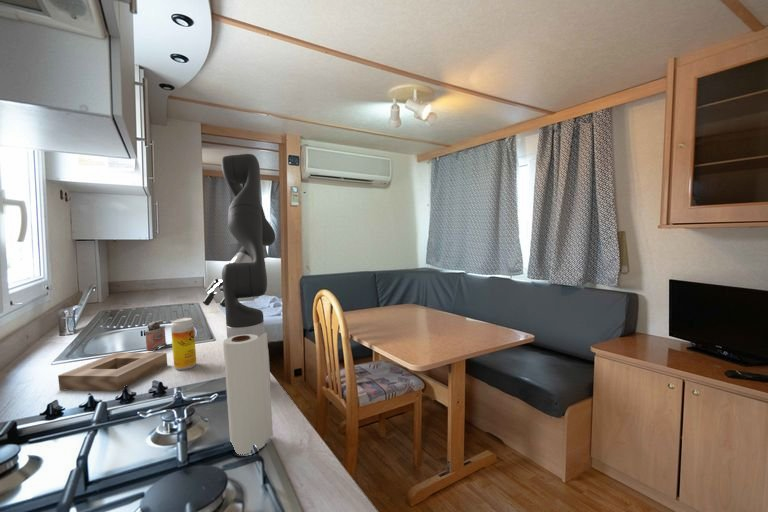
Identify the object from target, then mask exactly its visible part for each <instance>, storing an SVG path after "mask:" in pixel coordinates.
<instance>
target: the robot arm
mask: <svg viewBox="0 0 768 512" xmlns="http://www.w3.org/2000/svg"><path fill="white" fill-rule="evenodd" d="M221 170H222V171H221V172H222V174H223V177H224V179H225V181H226V184H227V186H228V188H229V189H230V190H231V192H232V194H233V195H232V196H234V198H233V199H232V201H231V203H230V205H229V207H228V212H227V213H228V215H227V216H228V217H227V220H228V221H227V224H228V229H229V232H230V233H231V235H232V237H234V238H235V240H236V241H237V242H238V243H239V244H240V245H241V247H240V248H239V250H238V251H237V252H236V254H235V255H234V256H233V257H232V258H231V260H230V261H229V263H227V264H224V266H223V268H222V271H221V278H220V279H218V278H217V277H215V278H214V279H213V280H212V282H211V283H210V284H209V286H208V287H207V288H206V289H205V292H206V293H207V295H206V297H204V299H203V301H202V303H203V304H204V305H205V306H210V304H212V303H211V302H212V301H213V300H214V299H215V297H216V296H218V295H220V294H222V293H223V298H222V299H221V300H220V302H219V305H220V306H221V307H222V308H225V323H226V325H225V326H226V339H227V338H230V337H233V336H237V335H244V334H252V335H257V336H258V338H259V337H260V336H261V335H262V334H264V333H265V323H264V322H265V321H264V320H265V319H264V318H265V317H264V312H263V311H262V310H261V309H259V308H254V307H250V306H248V305H245V304H243V303H241V302H240V301H239V299H245V298H256V297H262V296H264V295H265V294H266V292H267V288H268V275H267V269H266V261H265V260H266V259H265V253H264V247H269V246H272V245H273V244H274V242H275V240H276V233H275V230H274V228H273V226H272V225H271V224H270V222H269V221H268V219H267V218H266V214H265V211H264V207H263V206H262V204H261V197H260V195H261V194H260V191H261V190H260V189H261V188H260V183H261V170H260V163H259V160H258V158H257V156H255V155H254V154H252V153H241V154H230V155H225V156H223V157H222V159H221ZM243 184H245V185H244V186H242V185H243ZM269 353H270V352H269V349H268V361H269V362H270V354H269ZM269 377H270V378H271V371H270V366H269Z"/></svg>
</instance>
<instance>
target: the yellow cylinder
mask: <svg viewBox="0 0 768 512" xmlns="http://www.w3.org/2000/svg"><path fill="white" fill-rule="evenodd" d="M194 325H195V324H194V320H193V318H192V317H182V318H181V317H180V318H176V319H173V320H171V324H170V328H171V329H170V331H171V340H172V342H171V343H172V354H173V366H174V368H175V369H176V370H179V371H181V370H182V371H183V370H184V371H185V370H188V369H192V368H193V367H195V365H196V363H197V354H196V353H197V352H196V351H197V350H196V340H195V339H196V338H195V326H194Z"/></svg>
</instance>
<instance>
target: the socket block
mask: <svg viewBox="0 0 768 512" xmlns="http://www.w3.org/2000/svg"><path fill="white" fill-rule="evenodd" d="M167 366H168V356H167V352H114V353H111V354H108V355H106V356H104V357H101V358H99V359H96V360H94V361H91V362H89V363H87V364H84V365H81V366H78V367H76V368H74V369H71V370H68V371H67V372H63V373H61V374H58V375H57V377H58V379H57V381H58V388H59V389H66V390H65V391H69V390H70V391H106V392H107V391H109V392H110V391H112V392H118V391H119V392H120V391H121V390H123V389H125V388H124V386H126V385H127V387H129V386H131V385H133V384H134V383H137V382H138V381H140V380H142V379H145V378H146V377H148V376H150V375H152V374H154V373H155V372H157V371H159V370H161V369H164V368H165V367H167Z"/></svg>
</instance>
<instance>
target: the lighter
mask: <svg viewBox="0 0 768 512" xmlns="http://www.w3.org/2000/svg"><path fill="white" fill-rule="evenodd" d="M162 324H163V320H161V319H160V320H157V321H152V322H151V321H150V323H149V324H147V329H145V330H144V334H145V345H146V349H145V351H153V350H156V349H158V348H159V347H158V346H163V345H167V341H166V325H162ZM158 350H159V349H158ZM156 351H157V350H156ZM153 352H154V351H153Z"/></svg>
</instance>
